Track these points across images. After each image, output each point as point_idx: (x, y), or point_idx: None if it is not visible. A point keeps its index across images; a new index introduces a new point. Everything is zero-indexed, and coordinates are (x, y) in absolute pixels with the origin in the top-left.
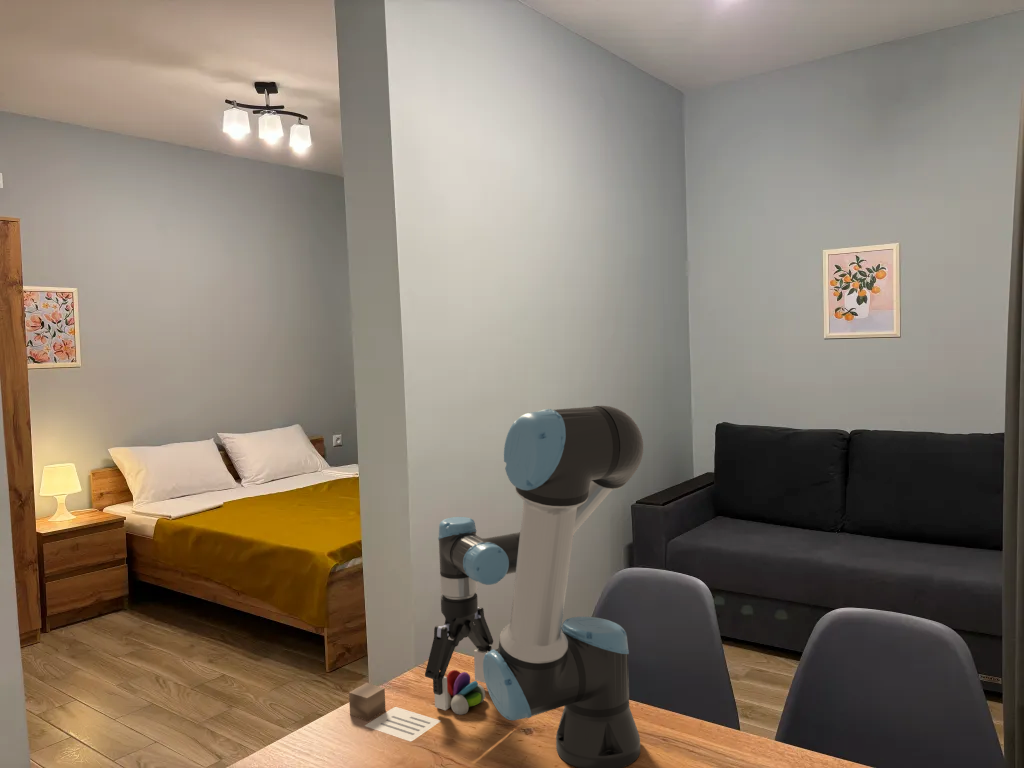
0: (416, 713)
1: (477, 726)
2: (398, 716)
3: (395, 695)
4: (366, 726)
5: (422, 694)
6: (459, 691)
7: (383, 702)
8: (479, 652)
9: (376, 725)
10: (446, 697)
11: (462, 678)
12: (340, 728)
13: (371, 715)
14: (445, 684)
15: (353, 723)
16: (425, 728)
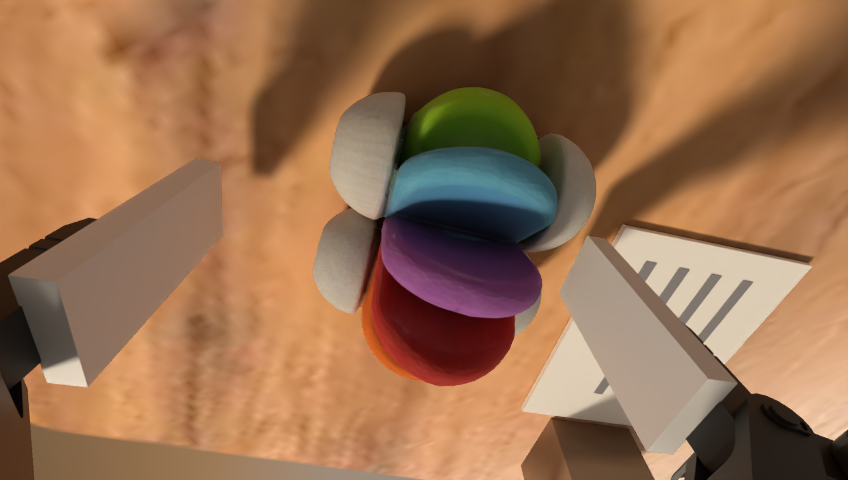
0: (566, 338)
1: (664, 14)
2: (596, 377)
3: (431, 436)
4: None
5: (393, 376)
6: (500, 242)
7: (571, 455)
8: (75, 333)
9: None
10: (630, 275)
11: (504, 276)
12: (666, 464)
13: (620, 442)
14: (690, 340)
15: None
16: (698, 260)
